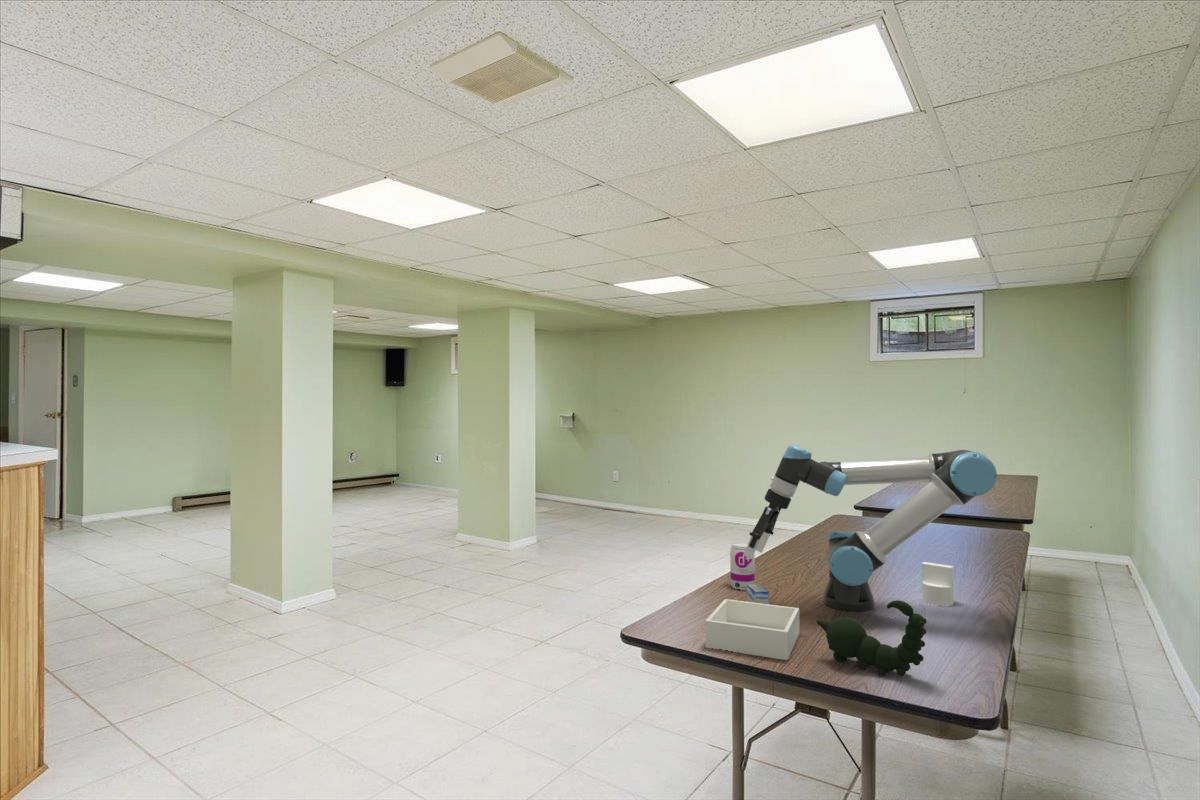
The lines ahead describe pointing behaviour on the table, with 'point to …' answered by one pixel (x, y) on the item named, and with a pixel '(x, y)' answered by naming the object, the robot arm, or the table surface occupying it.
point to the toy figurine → (876, 642)
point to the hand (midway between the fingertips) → (752, 553)
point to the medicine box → (757, 594)
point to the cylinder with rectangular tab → (937, 584)
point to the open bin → (753, 629)
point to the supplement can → (741, 567)
